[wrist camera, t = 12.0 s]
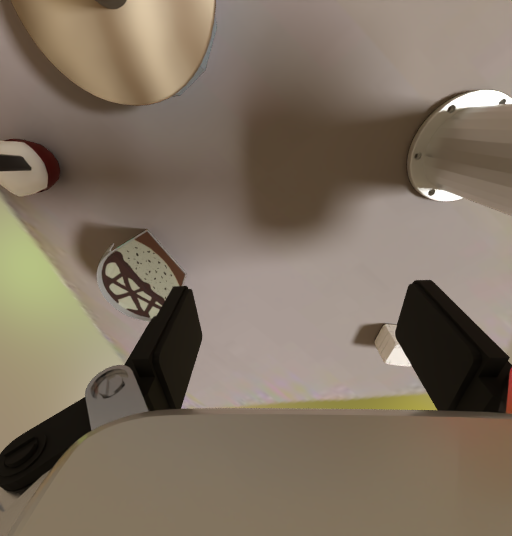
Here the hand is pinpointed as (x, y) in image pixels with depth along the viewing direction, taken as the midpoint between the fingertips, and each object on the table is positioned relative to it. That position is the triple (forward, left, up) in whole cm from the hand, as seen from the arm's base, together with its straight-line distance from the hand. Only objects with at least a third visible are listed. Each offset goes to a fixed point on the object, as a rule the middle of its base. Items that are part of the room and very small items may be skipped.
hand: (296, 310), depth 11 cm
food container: (+20, +10, -27) cm, 36 cm away
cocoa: (+30, -6, -27) cm, 41 cm away
